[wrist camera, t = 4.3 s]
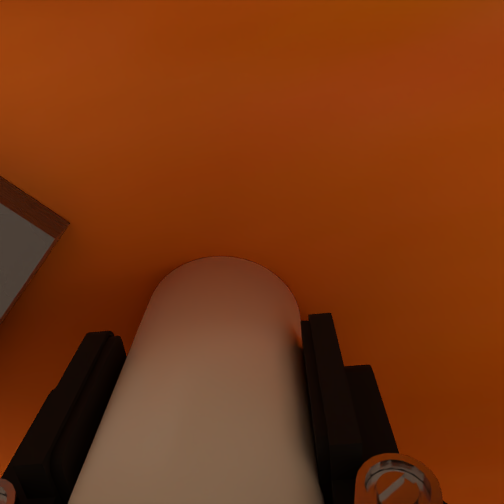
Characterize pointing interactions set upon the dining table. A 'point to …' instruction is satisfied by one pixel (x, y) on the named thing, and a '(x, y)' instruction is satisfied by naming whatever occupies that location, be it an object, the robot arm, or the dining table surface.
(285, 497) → the knob
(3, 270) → the hub plate
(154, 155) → the dining table surface
